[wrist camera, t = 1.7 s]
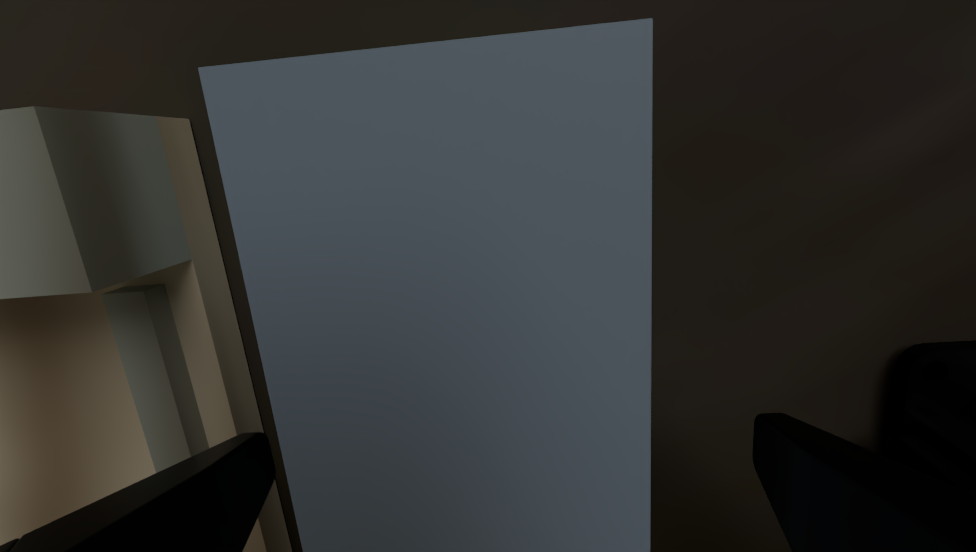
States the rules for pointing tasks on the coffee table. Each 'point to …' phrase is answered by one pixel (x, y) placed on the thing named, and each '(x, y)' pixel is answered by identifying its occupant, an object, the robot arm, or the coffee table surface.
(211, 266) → the cradle
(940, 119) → the coffee table surface
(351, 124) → the slate grey rectangular prism
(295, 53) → the coffee table surface
